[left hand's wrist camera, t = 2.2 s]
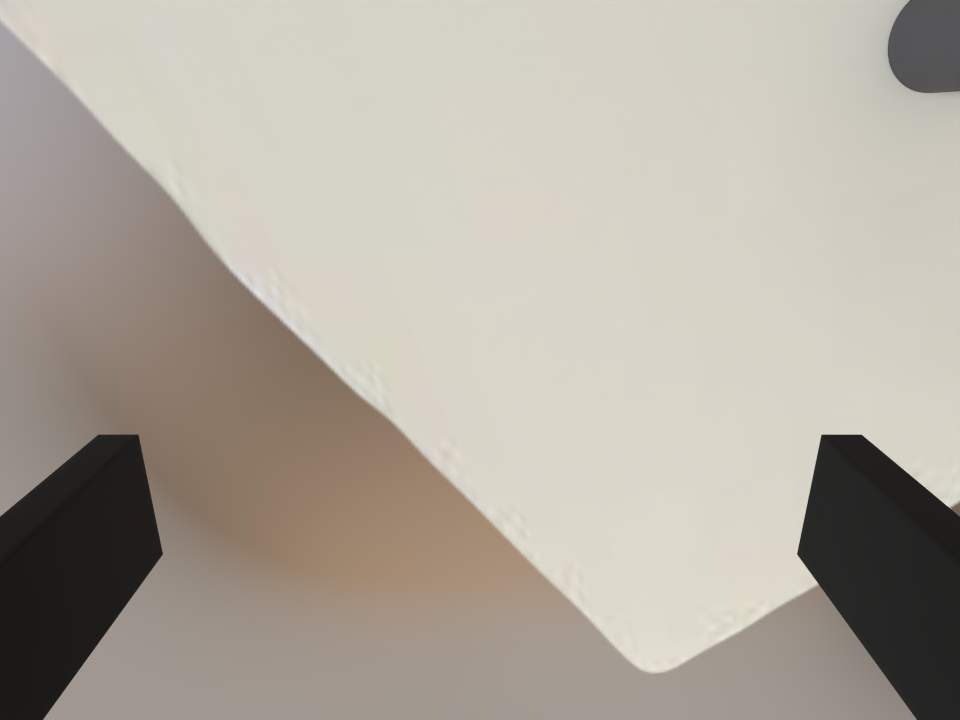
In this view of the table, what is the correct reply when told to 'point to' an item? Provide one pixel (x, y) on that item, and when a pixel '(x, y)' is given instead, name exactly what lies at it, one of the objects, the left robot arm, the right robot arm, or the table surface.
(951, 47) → the bottle
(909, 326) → the table surface
